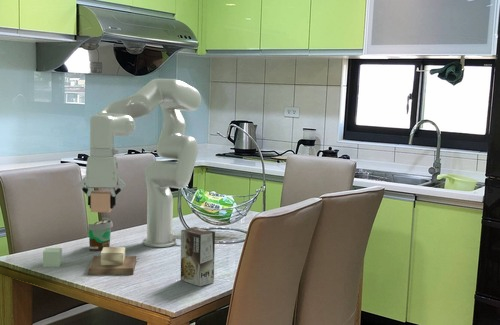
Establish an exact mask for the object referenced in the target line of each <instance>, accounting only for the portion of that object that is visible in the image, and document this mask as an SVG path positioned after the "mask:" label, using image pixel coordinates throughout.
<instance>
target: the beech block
mask: <svg viewBox="0 0 500 325" xmlns="http://www.w3.org/2000/svg"><path fill="white" fill-rule="evenodd" d="M100 256H101V265H123V264H124V260H125V256H126V247H125V246H110V247H103V249H102V251H100Z"/></svg>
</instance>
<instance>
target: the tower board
mask: <svg viewBox="0 0 500 325" xmlns="http://www.w3.org/2000/svg"><path fill="white" fill-rule="evenodd" d="M136 265H137V255H125V260H124V264H123V265H101V255H94V256H93V257H92V259H91V262H90V263H89V265H88V267H87V275H88V276H89V275H134V272H135V267H136Z"/></svg>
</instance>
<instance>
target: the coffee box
mask: <svg viewBox="0 0 500 325" xmlns="http://www.w3.org/2000/svg"><path fill="white" fill-rule="evenodd" d="M180 234H181V239H180V281H182V282H186V283H189V284H191V285H194V286H197V287H203V286H206V285H210V284H213V283H214V282H215V251H216V250H215V248H216V247H215V246H216V241H215V240H216V231H214V230H210V229H205V228H201V227H197V226H193V227H189V228H186V229H181V230H180Z"/></svg>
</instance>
